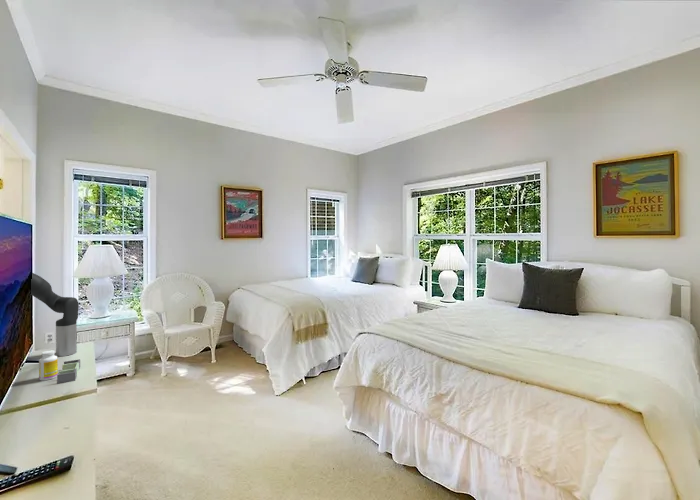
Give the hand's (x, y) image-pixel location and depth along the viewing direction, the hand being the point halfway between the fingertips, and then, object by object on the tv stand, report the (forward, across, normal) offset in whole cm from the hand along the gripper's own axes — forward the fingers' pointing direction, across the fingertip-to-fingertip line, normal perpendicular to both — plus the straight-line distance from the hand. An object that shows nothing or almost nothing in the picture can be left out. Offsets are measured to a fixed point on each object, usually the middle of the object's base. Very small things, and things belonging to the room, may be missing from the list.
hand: (18, 366), depth 153 cm
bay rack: (+18, 0, -7) cm, 20 cm away
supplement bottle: (+13, 0, -2) cm, 13 cm away
